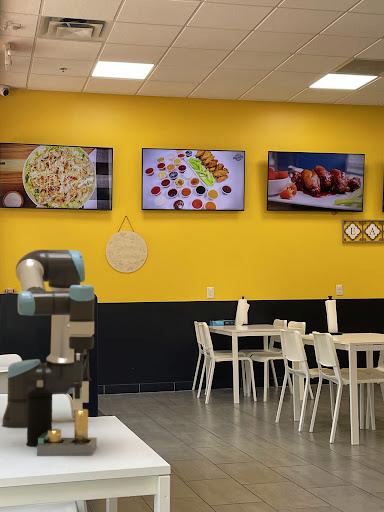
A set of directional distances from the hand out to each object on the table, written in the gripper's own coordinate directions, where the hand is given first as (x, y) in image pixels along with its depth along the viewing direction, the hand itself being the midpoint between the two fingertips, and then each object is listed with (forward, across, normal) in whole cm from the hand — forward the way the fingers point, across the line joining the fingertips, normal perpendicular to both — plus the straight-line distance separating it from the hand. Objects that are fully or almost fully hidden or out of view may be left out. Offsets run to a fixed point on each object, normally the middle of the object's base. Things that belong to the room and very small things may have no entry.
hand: (80, 406), depth 223 cm
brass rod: (+13, +1, 0) cm, 13 cm away
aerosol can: (+14, -11, -14) cm, 23 cm away
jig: (+13, +1, -4) cm, 14 cm away
